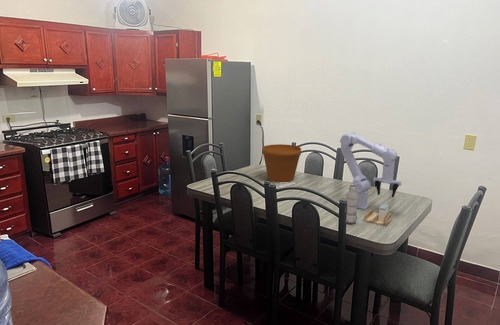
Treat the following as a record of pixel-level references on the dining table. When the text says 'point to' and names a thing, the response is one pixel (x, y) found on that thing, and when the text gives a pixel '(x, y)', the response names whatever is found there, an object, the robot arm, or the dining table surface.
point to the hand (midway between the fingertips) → (385, 195)
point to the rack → (373, 218)
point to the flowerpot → (281, 161)
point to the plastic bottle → (352, 204)
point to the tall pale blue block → (383, 212)
